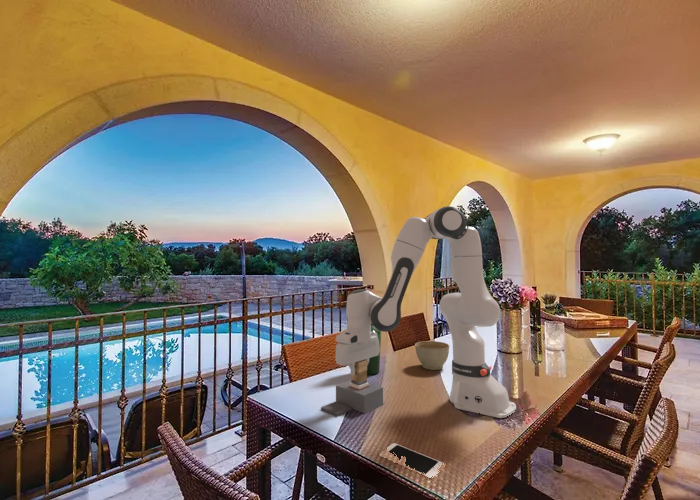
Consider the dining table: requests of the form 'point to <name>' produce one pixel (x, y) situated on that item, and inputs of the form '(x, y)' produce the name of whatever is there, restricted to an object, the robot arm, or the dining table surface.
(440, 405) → the dining table surface
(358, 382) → the tan wooden block
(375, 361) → the bottle
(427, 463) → the cell phone
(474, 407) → the robot arm
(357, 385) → the button
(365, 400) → the block
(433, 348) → the planter bowl
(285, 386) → the dining table surface
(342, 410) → the mat
